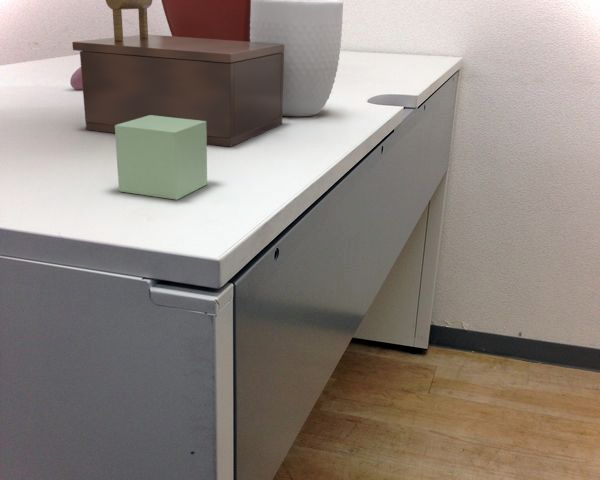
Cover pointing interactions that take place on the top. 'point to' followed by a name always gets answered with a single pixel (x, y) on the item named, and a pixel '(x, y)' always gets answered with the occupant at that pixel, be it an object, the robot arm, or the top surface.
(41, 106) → the top surface
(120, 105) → the chest
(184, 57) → the lid
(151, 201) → the top surface
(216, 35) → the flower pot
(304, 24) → the mug
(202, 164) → the block
